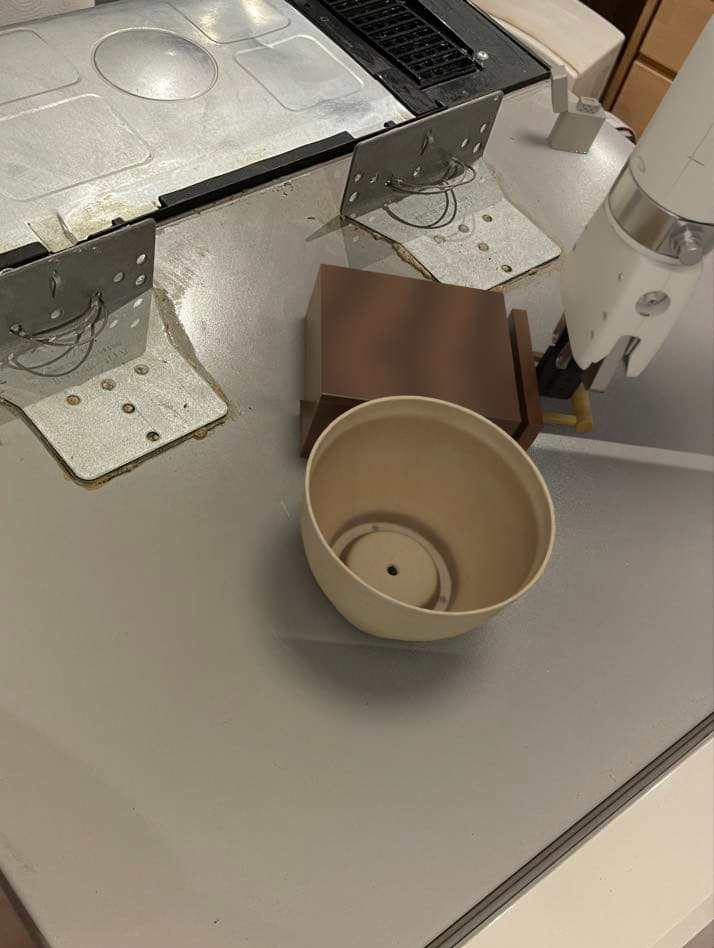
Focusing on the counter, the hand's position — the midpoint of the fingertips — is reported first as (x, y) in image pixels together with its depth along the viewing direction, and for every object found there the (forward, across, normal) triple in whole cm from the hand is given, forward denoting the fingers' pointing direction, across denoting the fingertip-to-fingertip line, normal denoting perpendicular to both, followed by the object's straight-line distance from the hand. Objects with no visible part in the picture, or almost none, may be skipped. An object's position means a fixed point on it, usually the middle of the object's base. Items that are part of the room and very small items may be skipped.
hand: (548, 389), depth 77 cm
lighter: (+4, +37, -7) cm, 38 cm away
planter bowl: (+5, -16, +13) cm, 21 cm away
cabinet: (+4, 0, +12) cm, 12 cm away
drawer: (+3, 0, +6) cm, 7 cm away
